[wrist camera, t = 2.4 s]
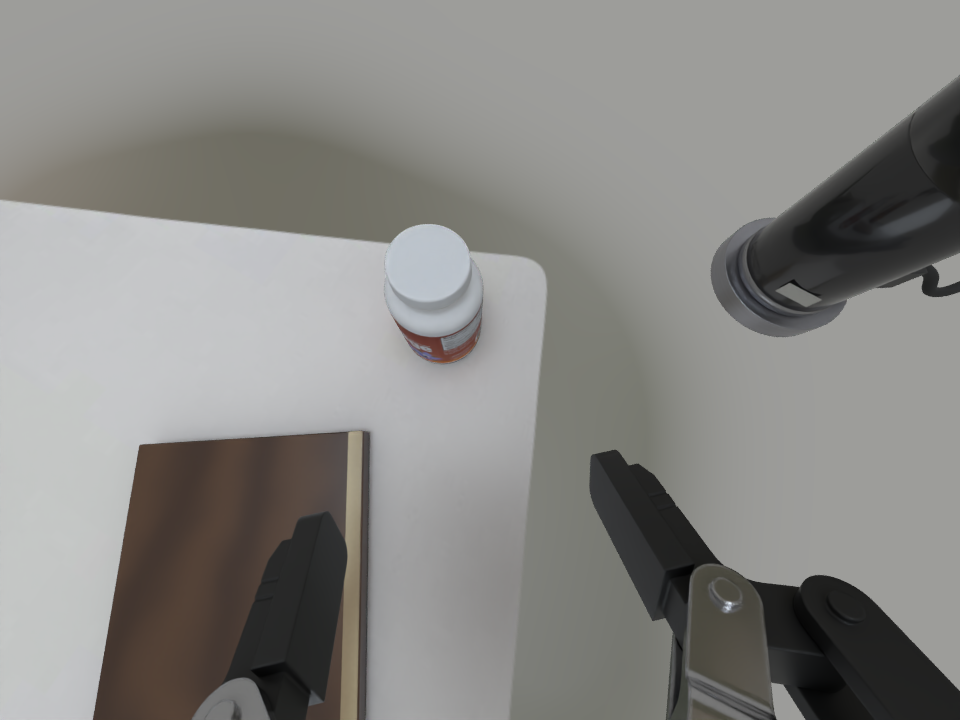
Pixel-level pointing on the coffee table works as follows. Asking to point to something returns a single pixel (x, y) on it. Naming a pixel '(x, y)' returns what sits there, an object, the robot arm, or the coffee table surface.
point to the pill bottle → (434, 292)
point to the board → (227, 566)
